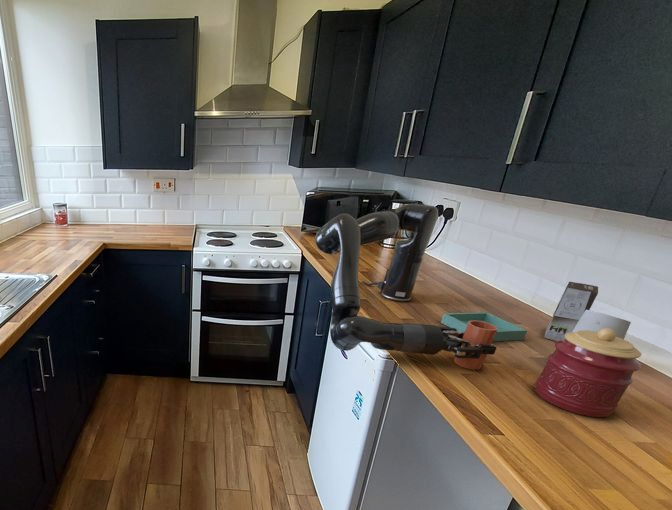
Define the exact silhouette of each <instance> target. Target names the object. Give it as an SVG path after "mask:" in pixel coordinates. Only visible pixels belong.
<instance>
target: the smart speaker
mask: <svg viewBox="0 0 672 510" xmlns="http://www.w3.org/2000/svg"><path fill="white" fill-rule="evenodd" d="M631 323H632V321H629V320H626V319H624V318H621V317H616V316H612V315H610V314H606V313H602V312H599V311H595V310H591V309H590V310H585V312H584V314H583V315H582V317H581V318H580V320H579V321H578V323H577V325H576V326H575V328H574V329H573V331H572V332H577V331H582V330H584V331H594V332H598V331H599V330H601V329H604V328H609V329H612V330H614V331H615V332H616V337H618V338H621V339H623V340H625V337H626V335H627V333H628V330H629V328H630V326H631Z"/></svg>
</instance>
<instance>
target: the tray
mask: <svg viewBox="0 0 672 510" xmlns="http://www.w3.org/2000/svg"><path fill="white" fill-rule="evenodd" d="M472 320H476V321H482V322H486V323H489V324H492V325H494V326H496V327H497V329H498V330H497V332H496V334H495V337H494V339H493V341H492V342H501V341H502V342H505V341H506V342H507V341H524V340H525V337H526V335H527V333H528V329H525V328H523V327H521V326H519V325H516V324H514V323H512V322H510V321H507V320H505V319H503V318H501V317H498V316H496V315H495V314H492V313H489V312H487V311H483V312H451V313H450V312H449V313H443V315H442V318H441V320H440V324H443V325H445V326H446V327H449V328H455V329H457V331H462V332H463V333H464V332H465V329H466V327H467V324H468V322H469V321H472Z"/></svg>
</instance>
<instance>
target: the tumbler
mask: <svg viewBox="0 0 672 510" xmlns="http://www.w3.org/2000/svg"><path fill="white" fill-rule="evenodd" d="M497 330H498V329H497V327H496V326H494V325H492V324H489V323H486V322H482V321H476V320H472V321H469V322H468V324H467V327H466V329H465V332H464V335H463V337H462V339H465V340H469V342H470V343H474V344H482V345H492V344H493V342H494V341H493V339H494V337H495V334H496V332H497ZM464 344H465V343H462V346H463V347H464ZM469 347H472V346H469ZM487 356H488V354H481V355H480V358H479V359H478V358H456V357H455V356H454V359H453V362H454V363H455V364H456V365H458V366H459V367H462V368H465V369H468V370H475V371H478V370H481V369H482V367H483V366H484V363H485V361H486V358H487Z"/></svg>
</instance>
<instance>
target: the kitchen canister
mask: <svg viewBox="0 0 672 510" xmlns="http://www.w3.org/2000/svg"><path fill="white" fill-rule="evenodd" d="M565 338H566V339H565V340H559V341H555V342H554V347H555V350H554V351H553V353H550V354H549V355H548V356H547V361H546V363H545V366H544V367H543V369H542V371H541V373H540V374H539V376H538V377H537V379H536V381H535V383H534V384H535V386H534V391H535V393H536V394H537V395H538V396H539V397H540V398H541V399H543V400H544V401H546V402H548V403H550V404H552V405H554V406H555V407H558V408H560V409H563V410H566V411H568V412H571V413H574V414H578V415H582V416H586V417H592V418H606V417H609V416H610V415H612V413H613V412H615V411H616V410H617V408H618V406H619V402H620V401H621V399H622V397H623V396H624V394H625V393H626V391H627V389H628V388H629V386H630V385H631V384H632V383H633V381H634V379H633V374H634V372H636V371H637V372H638V371H639V370H641V368H642V364H641V363H640V362H639V360H638V359H639V358H641V356H642V352H641V351H640V350H639V349H637V348H636V347H635V346H634V345H633V344H632V343H631V342H629V341H627V340H625V339H624V340H623V339H621V338H618V337H616V332H615V331H614V330H612V329H609V328H604V329H601V330H599V331H598V332H594V331H584V330H582V331H577V332H570V333H566V334H565Z"/></svg>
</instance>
